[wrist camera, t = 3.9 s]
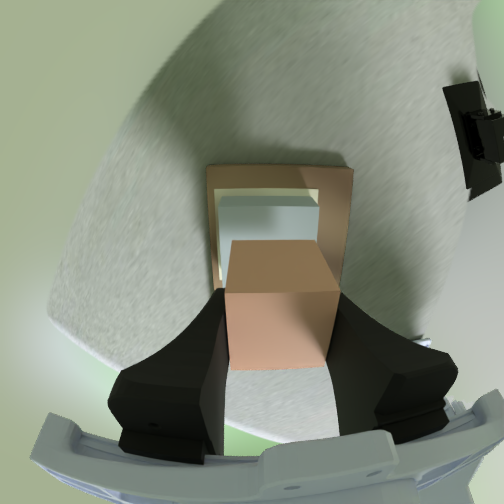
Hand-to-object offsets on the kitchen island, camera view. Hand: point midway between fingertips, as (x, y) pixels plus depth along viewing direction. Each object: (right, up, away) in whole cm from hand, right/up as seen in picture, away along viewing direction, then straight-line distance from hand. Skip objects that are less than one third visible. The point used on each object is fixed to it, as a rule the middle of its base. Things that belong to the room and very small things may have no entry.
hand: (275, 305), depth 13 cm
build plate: (+19, +13, +5) cm, 24 cm away
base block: (0, +4, +7) cm, 8 cm away
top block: (0, +1, +2) cm, 2 cm away
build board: (+1, +2, +9) cm, 10 cm away
